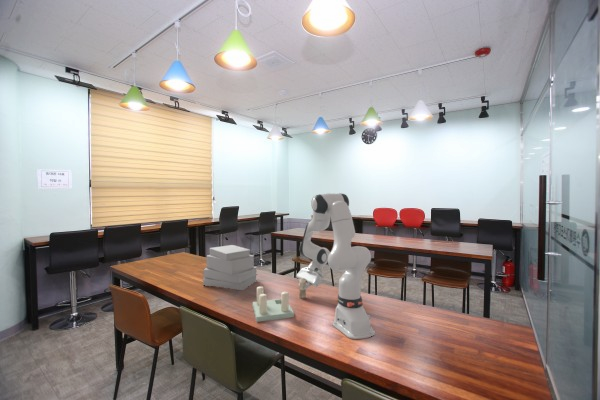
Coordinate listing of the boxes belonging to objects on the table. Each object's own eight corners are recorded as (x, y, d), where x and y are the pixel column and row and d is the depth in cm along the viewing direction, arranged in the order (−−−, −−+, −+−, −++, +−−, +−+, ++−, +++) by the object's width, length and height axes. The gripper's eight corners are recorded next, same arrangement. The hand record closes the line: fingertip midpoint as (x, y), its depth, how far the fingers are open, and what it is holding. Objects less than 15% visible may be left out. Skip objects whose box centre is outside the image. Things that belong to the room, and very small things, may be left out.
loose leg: (306, 298, 168) (306, 279, 168) (300, 299, 167) (300, 280, 166) (304, 296, 172) (304, 277, 171) (298, 297, 171) (298, 278, 170)
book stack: (241, 293, 178) (241, 254, 177) (197, 287, 188) (197, 251, 187) (261, 279, 206) (261, 246, 206) (222, 275, 217) (221, 243, 216)
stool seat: (293, 317, 143) (293, 295, 143) (256, 321, 137) (256, 299, 137) (285, 302, 162) (285, 282, 162) (252, 306, 157) (252, 286, 156)
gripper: (301, 263, 181) (289, 280, 176) (321, 270, 165) (308, 289, 159) (306, 269, 184) (295, 285, 178) (326, 276, 167) (314, 295, 162)
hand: (301, 287), depth 169 cm, fingers closed on loose leg, 4 cm apart
